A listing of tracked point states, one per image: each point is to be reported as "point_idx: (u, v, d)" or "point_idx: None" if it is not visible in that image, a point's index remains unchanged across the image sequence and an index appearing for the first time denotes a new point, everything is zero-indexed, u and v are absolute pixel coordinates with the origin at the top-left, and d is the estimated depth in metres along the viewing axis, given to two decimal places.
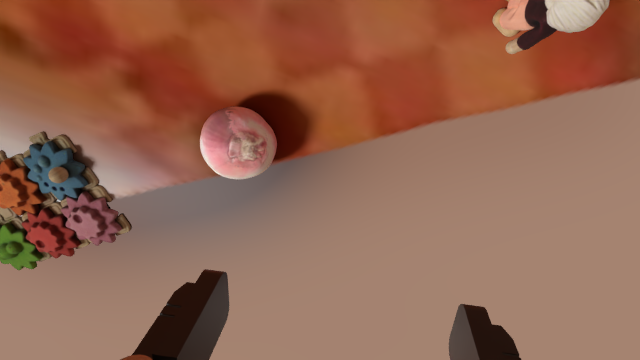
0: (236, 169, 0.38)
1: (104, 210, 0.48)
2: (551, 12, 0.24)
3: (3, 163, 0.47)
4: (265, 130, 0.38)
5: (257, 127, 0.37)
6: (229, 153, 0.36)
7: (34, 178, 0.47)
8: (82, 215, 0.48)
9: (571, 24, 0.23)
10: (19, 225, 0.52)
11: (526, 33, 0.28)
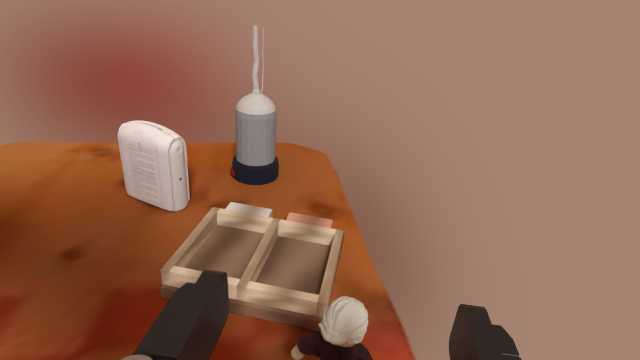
0: None
1: None
2: (350, 335, 0.25)
3: None
4: None
5: None
6: None
7: None
8: None
9: (362, 317, 0.26)
10: None
11: None
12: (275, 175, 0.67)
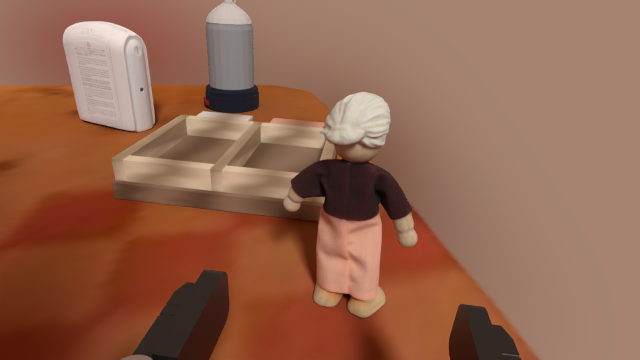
0: None
1: None
2: (367, 126, 0.17)
3: None
4: None
5: None
6: None
7: None
8: None
9: (382, 106, 0.18)
10: None
11: (390, 201, 0.19)
12: (255, 103, 0.59)
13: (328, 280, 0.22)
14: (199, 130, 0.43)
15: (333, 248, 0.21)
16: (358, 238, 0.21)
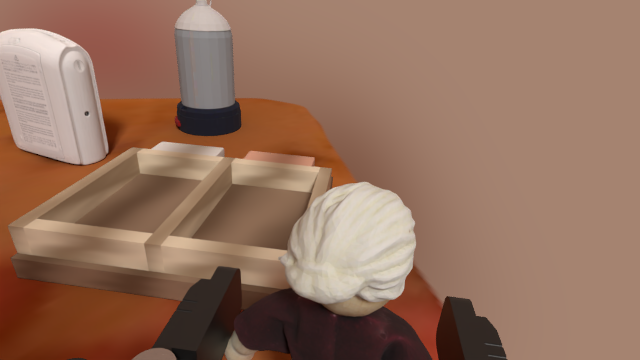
0: None
1: None
2: (371, 270, 0.08)
3: None
4: None
5: None
6: None
7: None
8: None
9: (401, 221, 0.09)
10: None
11: None
12: (236, 124, 0.50)
13: None
14: (154, 167, 0.34)
15: None
16: None
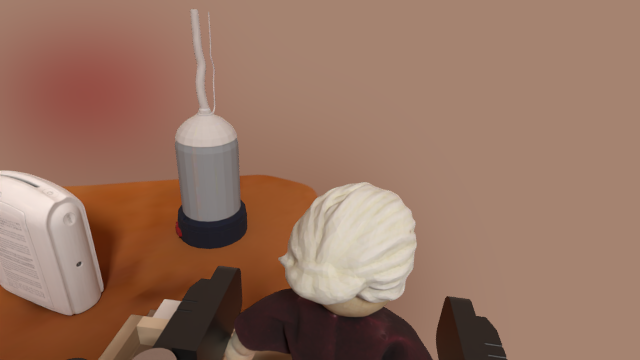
0: None
1: None
2: (371, 271, 0.08)
3: None
4: None
5: None
6: None
7: None
8: None
9: (402, 222, 0.09)
10: None
11: None
12: (242, 230, 0.46)
13: None
14: None
15: None
16: None
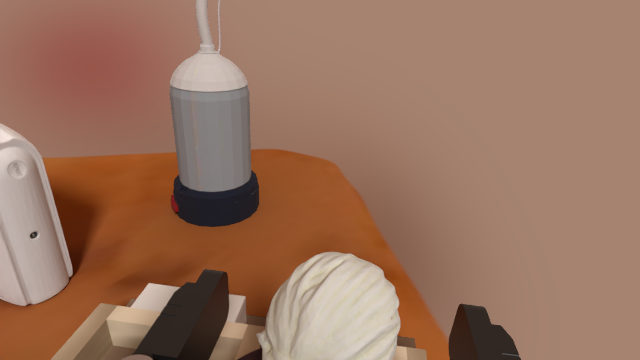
0: None
1: None
2: None
3: None
4: None
5: None
6: None
7: None
8: None
9: (383, 309, 0.08)
10: None
11: None
12: (253, 205, 0.37)
13: None
14: (136, 340, 0.21)
15: None
16: None
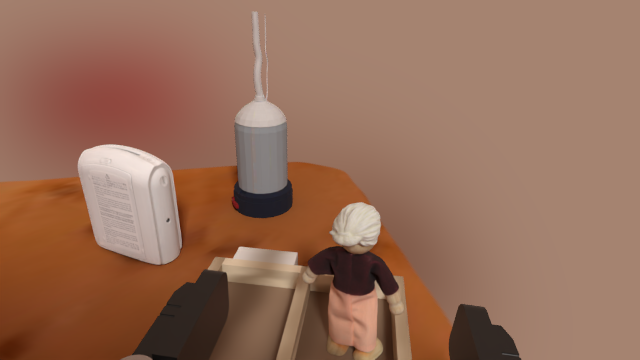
0: None
1: None
2: (363, 234, 0.24)
3: None
4: None
5: None
6: None
7: None
8: None
9: (374, 216, 0.25)
10: None
11: (382, 282, 0.26)
12: (289, 203, 0.53)
13: (337, 336, 0.29)
14: (237, 276, 0.36)
15: (341, 312, 0.28)
16: (359, 306, 0.27)
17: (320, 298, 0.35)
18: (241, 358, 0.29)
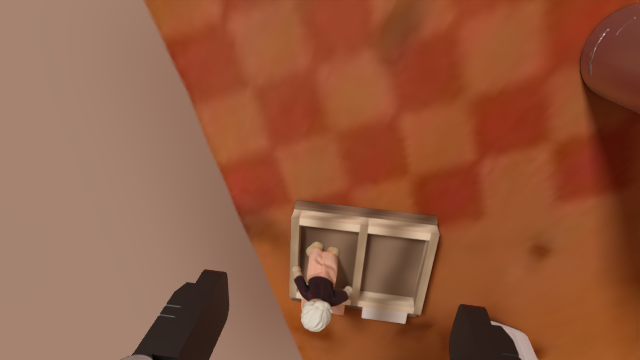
0: None
1: None
2: (311, 307, 0.40)
3: None
4: None
5: None
6: None
7: None
8: None
9: (304, 318, 0.40)
10: None
11: (303, 282, 0.44)
12: None
13: (332, 256, 0.49)
14: (402, 299, 0.52)
15: (328, 268, 0.47)
16: (317, 270, 0.46)
17: (344, 283, 0.53)
18: (388, 245, 0.49)
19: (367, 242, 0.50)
